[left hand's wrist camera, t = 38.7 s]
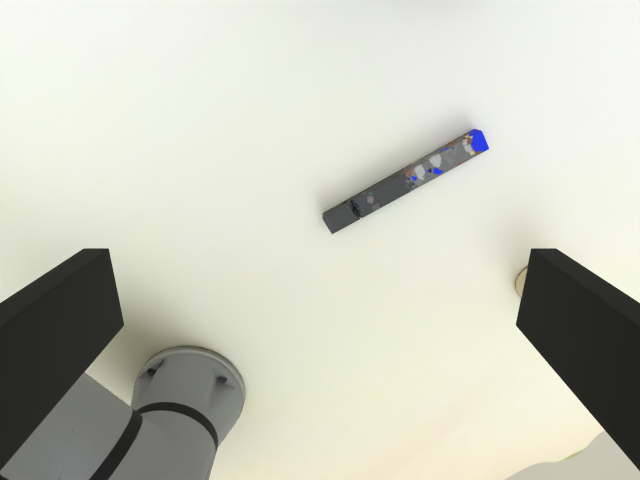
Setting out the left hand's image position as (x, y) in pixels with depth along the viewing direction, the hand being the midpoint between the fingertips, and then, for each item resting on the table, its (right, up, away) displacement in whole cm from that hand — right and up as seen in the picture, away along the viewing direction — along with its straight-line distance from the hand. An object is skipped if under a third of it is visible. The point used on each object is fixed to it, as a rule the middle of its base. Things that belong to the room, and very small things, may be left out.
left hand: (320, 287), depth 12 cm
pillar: (+10, +9, +34) cm, 36 cm away
